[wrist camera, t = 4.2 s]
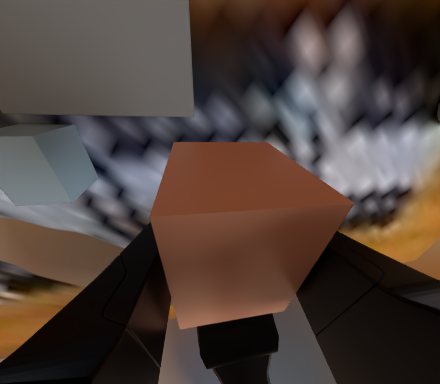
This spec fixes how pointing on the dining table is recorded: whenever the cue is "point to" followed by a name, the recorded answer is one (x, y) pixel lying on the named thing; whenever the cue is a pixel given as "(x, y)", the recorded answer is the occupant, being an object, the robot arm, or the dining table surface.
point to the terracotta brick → (239, 229)
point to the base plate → (96, 57)
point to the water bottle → (438, 112)
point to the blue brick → (43, 164)
